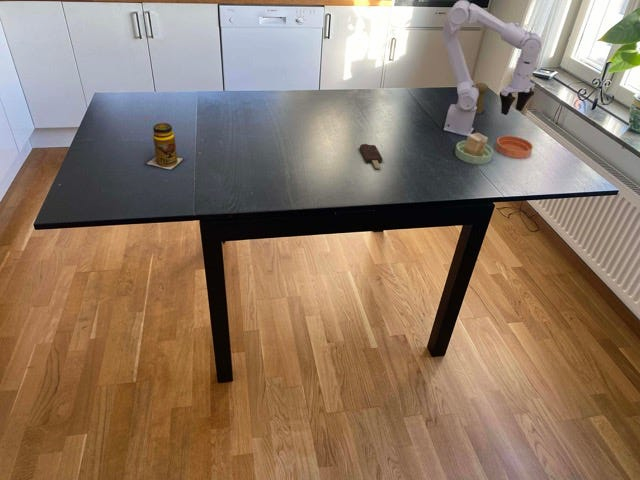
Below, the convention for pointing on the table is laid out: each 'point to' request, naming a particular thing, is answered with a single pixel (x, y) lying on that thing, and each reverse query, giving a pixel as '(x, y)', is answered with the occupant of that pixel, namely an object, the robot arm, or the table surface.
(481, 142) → the box
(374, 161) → the ice cream bar
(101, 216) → the table surface
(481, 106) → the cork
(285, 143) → the table surface
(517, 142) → the terracotta bowl
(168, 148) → the condiment
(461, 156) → the celadon bowl
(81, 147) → the table surface
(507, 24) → the robot arm
